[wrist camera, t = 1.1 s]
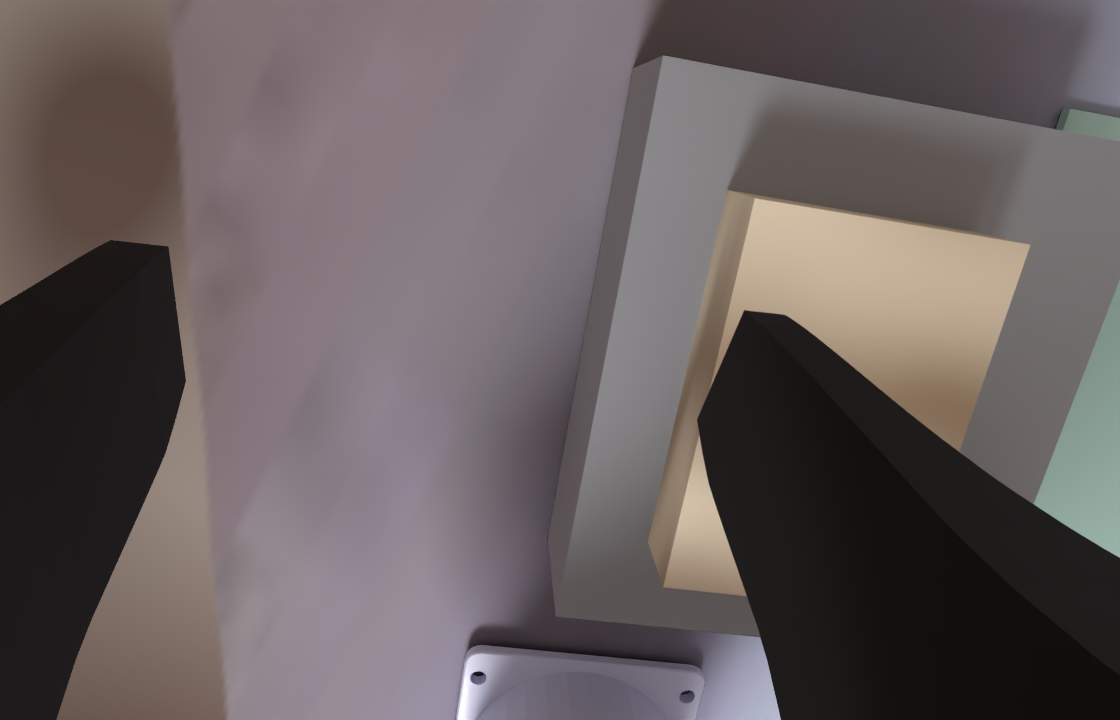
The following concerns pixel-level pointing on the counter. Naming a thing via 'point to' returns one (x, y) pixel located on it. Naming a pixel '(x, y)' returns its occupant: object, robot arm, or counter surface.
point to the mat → (1091, 413)
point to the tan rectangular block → (833, 337)
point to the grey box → (832, 181)
